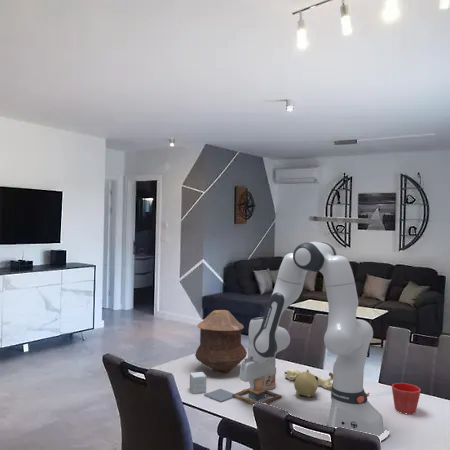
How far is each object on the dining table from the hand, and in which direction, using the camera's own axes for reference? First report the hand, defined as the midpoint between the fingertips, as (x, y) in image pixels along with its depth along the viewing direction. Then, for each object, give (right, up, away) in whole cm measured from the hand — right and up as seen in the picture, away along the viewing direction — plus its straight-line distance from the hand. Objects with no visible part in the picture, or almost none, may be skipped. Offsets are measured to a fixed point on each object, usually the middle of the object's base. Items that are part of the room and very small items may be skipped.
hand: (257, 386), depth 200 cm
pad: (-16, -4, +1) cm, 16 cm away
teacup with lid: (+6, -5, +15) cm, 17 cm away
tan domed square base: (0, -2, 0) cm, 2 cm away
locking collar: (0, -5, 0) cm, 5 cm away
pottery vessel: (-16, -4, +34) cm, 38 cm away
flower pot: (+60, -7, -9) cm, 61 cm away
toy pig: (+22, -6, +4) cm, 23 cm away
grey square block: (0, -5, 0) cm, 5 cm away
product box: (-26, -4, +6) cm, 27 cm away
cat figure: (+25, -6, +19) cm, 32 cm away
